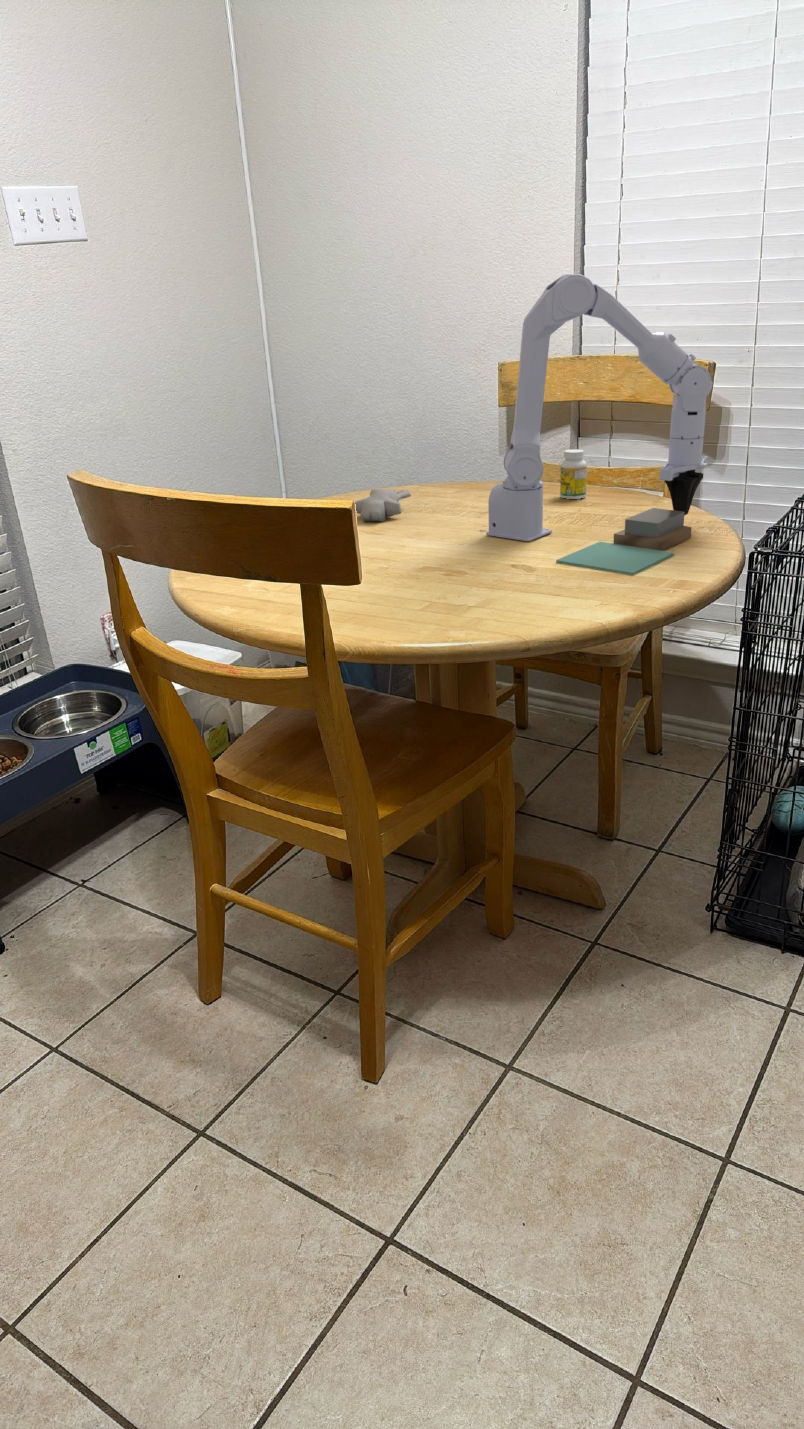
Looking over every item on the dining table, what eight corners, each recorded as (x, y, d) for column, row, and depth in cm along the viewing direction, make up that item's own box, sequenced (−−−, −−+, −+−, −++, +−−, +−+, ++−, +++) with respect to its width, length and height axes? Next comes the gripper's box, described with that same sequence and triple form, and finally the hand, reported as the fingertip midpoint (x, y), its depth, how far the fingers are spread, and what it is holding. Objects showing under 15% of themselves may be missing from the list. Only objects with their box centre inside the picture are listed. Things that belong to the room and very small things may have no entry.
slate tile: (624, 533, 167) (625, 519, 166) (652, 521, 173) (653, 507, 172) (656, 538, 163) (657, 523, 162) (683, 525, 170) (684, 511, 169)
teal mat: (556, 562, 159) (556, 560, 159) (599, 543, 169) (599, 541, 169) (632, 575, 151) (633, 572, 151) (674, 554, 160) (674, 552, 160)
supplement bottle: (590, 498, 203) (592, 451, 199) (568, 501, 201) (569, 453, 197) (577, 493, 207) (578, 447, 203) (555, 496, 206) (556, 450, 202)
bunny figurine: (346, 503, 190) (371, 479, 202) (349, 528, 193) (373, 503, 205) (391, 504, 187) (414, 480, 199) (394, 530, 190) (416, 504, 202)
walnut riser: (613, 545, 168) (613, 533, 167) (643, 531, 175) (644, 520, 174) (661, 552, 162) (662, 540, 161) (690, 538, 170) (691, 526, 169)
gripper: (689, 444, 162) (683, 525, 167) (726, 432, 172) (719, 508, 177) (650, 441, 166) (646, 520, 172) (688, 429, 176) (683, 504, 181)
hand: (680, 514), depth 175 cm, fingers closed
